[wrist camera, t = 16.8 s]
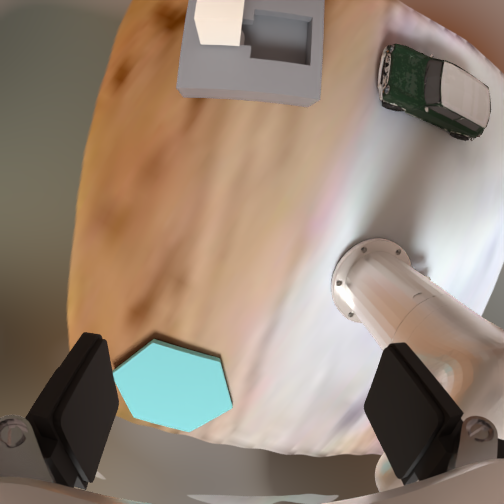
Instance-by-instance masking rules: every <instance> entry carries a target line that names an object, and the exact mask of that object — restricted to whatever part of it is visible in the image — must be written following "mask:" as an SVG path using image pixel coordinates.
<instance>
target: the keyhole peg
mask: <svg viewBox="0 0 504 504" xmlns="http://www.w3.org/2000/svg"><path fill="white" fill-rule="evenodd" d="M244 1H245V0H197V3H196V9H195V15H194V20H195V24H196V28H197V32H198V36H199V40H200V44H202V45H229V46H240V45H244V40H245V37H244V33H243V31H242V29H241V27H242V18H243V9H244Z"/></svg>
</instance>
